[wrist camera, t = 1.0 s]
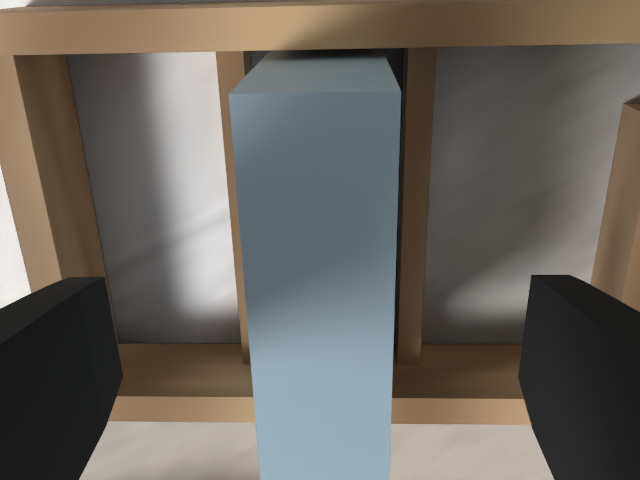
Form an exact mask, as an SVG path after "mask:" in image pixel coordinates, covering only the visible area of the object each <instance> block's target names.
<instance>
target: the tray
mask: <svg viewBox="0 0 640 480" xmlns="http://www.w3.org/2000/svg"><path fill="white" fill-rule="evenodd" d="M629 43H640V0H302V1H258V2H214V3H170V4H126V5H82V6H38V7H17V8H8V9H0V165H1V169H2V173H3V178H4V182H5V186H6V190H7V194H8V198H9V202H10V206H11V211H12V215H13V219H14V223H15V227H16V231H17V235H18V239H19V243H20V248H21V252H22V256H23V260H24V264H25V268H26V272H27V276H28V281H29V285H30V289H31V293H33V292H35V291H37V290H40V289H42V288H44V287H46V286H48V285H51V284H53V283H55V282H58V281H60V280H63V279H66V278H69V277H105V281H106V286H107V291H108V297H109V302H110V308H111V313H112V318H113V324H114V329H115V334H116V340H117V345H118V350H119V356H120V361H121V367H122V372H123V378H122V382H121V385H120V388H119V391H118V394H117V397H116V400H115V403H114V406H113V408H112V411H111V414H110V417H109V419H108V421H148V422H256V421H255V409H254V397H253V385H252V373H251V361H250V348H249V336H248V324H247V312H246V300H245V288H244V276H243V264H242V251H241V239H240V227H239V215H238V203H237V191H236V179H235V167H234V154H233V142H232V130H231V118H230V106H229V93H230V92H231V91H232V90H233V89H234V88H235V87H236V86H237V85H238V84H239V82H240V81H241V80H242V79H243V78H244V77H245V76H246V75H247V74H248V73H249V72H250V71H251V61H250V51H262V50H315V49H367V48H404V69H403V101H402V132H401V164H400V196H399V227H398V259H397V291H396V322H395V344H393V377H392V409H391V424H505V425H531V422H530V419H529V415H528V412H527V409H526V405H525V401H524V398H523V394H522V390H521V386H520V383H519V379H518V373H519V366H520V358H521V351H522V345H457V344H421V333H422V313H423V294H424V275H425V256H426V236H427V217H428V198H429V179H430V160H431V140H432V121H433V102H434V83H435V63H436V47H472V46H524V45H577V44H629ZM210 51H216V60H217V72H218V83H219V94H220V106H221V117H222V128H223V140H224V151H225V162H226V174H227V185H228V196H229V208H230V219H231V230H232V242H233V253H234V264H235V276H236V287H237V298H238V310H239V321H240V332H241V344H119V340H118V335H117V329H116V324H115V319H114V313H113V308H112V302H111V297H110V291H109V286H108V281H107V275H106V270H105V264H104V259H103V253H102V248H101V242H100V237H99V232H98V226H97V221H96V215H95V210H94V204H93V199H92V193H91V188H90V183H89V177H88V172H87V166H86V161H85V155H84V150H83V145H82V139H81V134H80V128H79V123H78V117H77V112H76V106H75V101H74V96H73V90H72V85H71V79H70V74H69V68H68V63H67V57H66V54H105V53H158V52H210Z"/></svg>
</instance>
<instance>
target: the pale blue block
mask: <svg viewBox="0 0 640 480" xmlns="http://www.w3.org/2000/svg"><path fill="white" fill-rule="evenodd" d="M229 106H230V118H231V130H232V142H233V154H234V167H235V179H236V191H237V203H238V215H239V227H240V239H241V251H242V264H243V276H244V288H245V300H246V312H247V324H248V336H249V348H250V361H251V373H252V385H253V397H254V409H255V421H256V433H257V445H258V458H259V470H260V480H389V474H390V442H391V409H392V377H393V344H394V311H395V279H396V246H397V214H398V181H399V148H400V116H401V90H400V87H399V85H398V83H397V81H396V79H395V76H394V74H393V72H392V70H391V67H390V65H389V63H388V61H387V59H386V56H385V54H384V52H383V50H382V48H367V49H315V50H270V51H269V52H268V53H267V54H266V55H265V56H264V57H263V58H262V59H261V60H260V61H259V62H258V63H257V65H256V66H255V67H254V68H253V69H252V70H251V71H250V72H249V73H248V74H247V75H246V76H245V77H244V78H243V79H242V80H241V81H240V82H239V84H238V85H237V86H236V87H235V88H234V89H233V90H232V91H231V92H230V93H229Z"/></svg>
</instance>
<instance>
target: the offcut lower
mask: <svg viewBox="0 0 640 480" xmlns="http://www.w3.org/2000/svg"><path fill="white" fill-rule="evenodd" d="M590 285H592V286H594V287H596V288H598V289H599V290H601V291H603V292H605V293H607V294H609V295H610V296H612V297H614V298H616V299H617V300H619V301H621V302H623V303H625V304H626V305H628V306H630V307H632V308H633V309H635V310H637V311H639V312H640V104H623V108H622V113H621V119H620V124H619V130H618V135H617V141H616V146H615V152H614V157H613V163H612V168H611V174H610V179H609V185H608V191H607V196H606V202H605V207H604V213H603V218H602V224H601V229H600V235H599V240H598V246H597V251H596V257H595V262H594V268H593V273H592V279H591V284H590Z"/></svg>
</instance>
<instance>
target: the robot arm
mask: <svg viewBox="0 0 640 480" xmlns="http://www.w3.org/2000/svg"><path fill="white" fill-rule="evenodd" d="M122 378H123V372H122V367H121V361H120V356H119V350H118V345H117V340H116V334H115V329H114V324H113V318H112V313H111V308H110V302H109V297H108V291H107V286H106V281H105V277H69V278H66V279H63V280H60V281H58V282H55V283H53V284H51V285H48V286H46V287H44V288H42V289H40V290H37V291H35V292H33V293H31V294H29V295H27V296H25V297H23V298H21V299H19V300H17V301H15V302H13V303H11V304H9V305H7V306H5V307H3V308H1V309H0V480H79V478H80V476H81V474H82V472H83V471H84V469H85V467H86V465H87V463H88V461H89V459H90V457H91V455H92V453H93V451H94V449H95V447H96V445H97V443H98V441H99V439H100V437H101V435H102V433H103V431H104V429H105V427H106V425H107V422H108V419H109V417H110V414H111V411H112V408H113V406H114V403H115V400H116V397H117V394H118V391H119V388H120V385H121V382H122ZM518 379H519V383H520V386H521V390H522V394H523V398H524V401H525V405H526V409H527V412H528V415H529V419H530V422H531V425H532V429H533V431H534V434H535V436H536V438H537V441H538V443H539V445H540V448H541V450H542V452H543V455H544V457H545V459H546V461H547V464H548V466H549V468H550V471H551V473H552V475H553V477H554V480H640V312H639V311H637V310H635V309H633V308H632V307H630V306H628V305H626V304H625V303H623V302H621V301H619V300H617V299H616V298H614V297H612V296H610V295H609V294H607V293H605V292H603V291H601V290H599V289H598V288H596V287H594V286H592V285H590V284H588V283H586V282H584V281H582V280H580V279H578V278H575V277H573V276H570V275H531V282H530V290H529V298H528V305H527V313H526V320H525V328H524V335H523V343H522V351H521V358H520V366H519V373H518Z"/></svg>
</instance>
